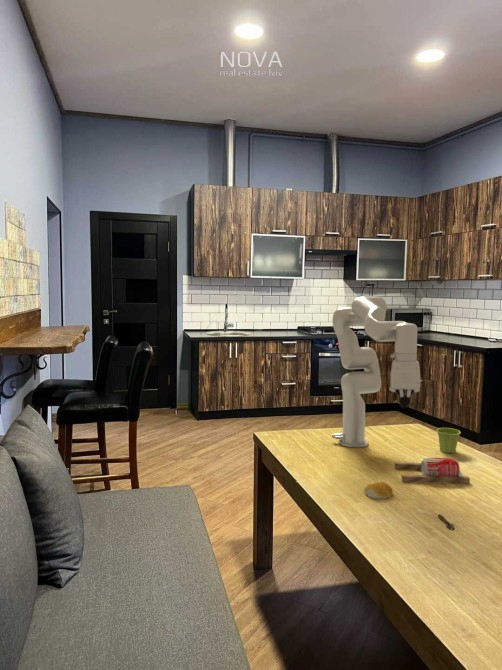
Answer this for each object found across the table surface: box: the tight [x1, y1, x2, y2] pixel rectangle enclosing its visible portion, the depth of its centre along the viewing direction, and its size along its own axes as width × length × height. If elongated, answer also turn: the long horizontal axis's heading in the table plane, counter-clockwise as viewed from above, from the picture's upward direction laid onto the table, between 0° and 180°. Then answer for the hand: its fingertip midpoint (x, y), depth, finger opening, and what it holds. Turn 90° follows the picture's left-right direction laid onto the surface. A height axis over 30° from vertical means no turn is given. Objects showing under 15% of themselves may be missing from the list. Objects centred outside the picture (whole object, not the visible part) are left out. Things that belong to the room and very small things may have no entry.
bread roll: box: [363, 481, 394, 500], centre depth 171 cm, size 8×9×4 cm
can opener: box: [437, 513, 455, 531], centre depth 150 cm, size 9×2×1 cm, turn 1°
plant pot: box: [436, 427, 462, 454], centre depth 214 cm, size 9×9×9 cm
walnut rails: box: [394, 462, 471, 485], centre depth 187 cm, size 23×14×2 cm, turn 86°
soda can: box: [420, 457, 461, 476], centre depth 184 cm, size 7×7×12 cm
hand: (403, 407), depth 187 cm, fingers closed
